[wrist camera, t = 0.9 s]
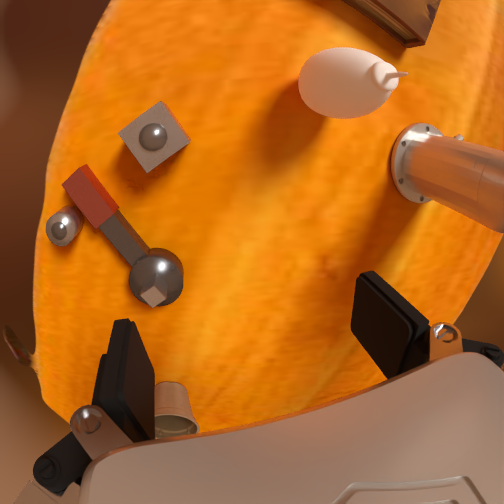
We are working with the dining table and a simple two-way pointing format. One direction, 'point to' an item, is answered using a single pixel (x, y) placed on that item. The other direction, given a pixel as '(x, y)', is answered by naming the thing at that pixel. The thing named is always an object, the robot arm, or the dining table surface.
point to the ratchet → (127, 242)
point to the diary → (400, 18)
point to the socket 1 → (64, 225)
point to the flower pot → (173, 411)
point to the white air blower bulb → (346, 82)
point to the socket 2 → (154, 136)
